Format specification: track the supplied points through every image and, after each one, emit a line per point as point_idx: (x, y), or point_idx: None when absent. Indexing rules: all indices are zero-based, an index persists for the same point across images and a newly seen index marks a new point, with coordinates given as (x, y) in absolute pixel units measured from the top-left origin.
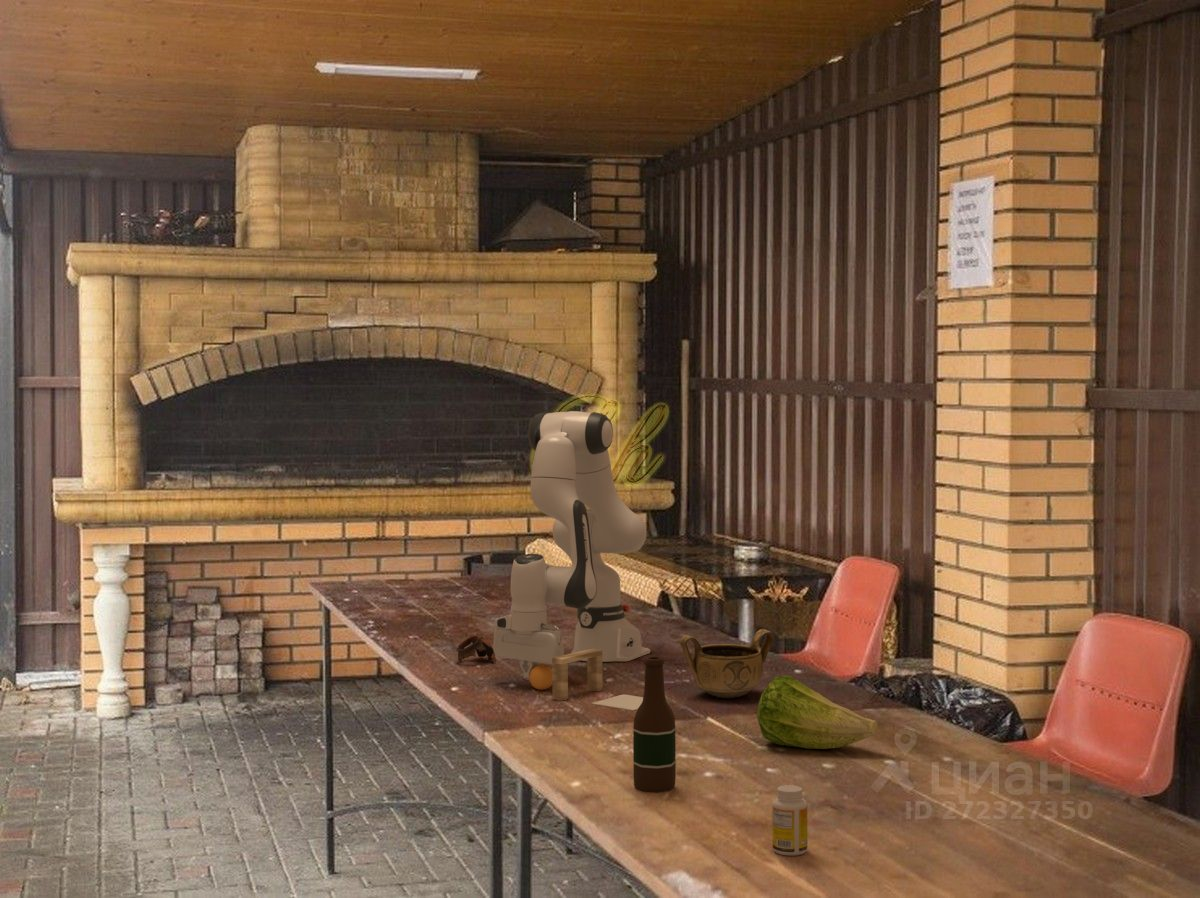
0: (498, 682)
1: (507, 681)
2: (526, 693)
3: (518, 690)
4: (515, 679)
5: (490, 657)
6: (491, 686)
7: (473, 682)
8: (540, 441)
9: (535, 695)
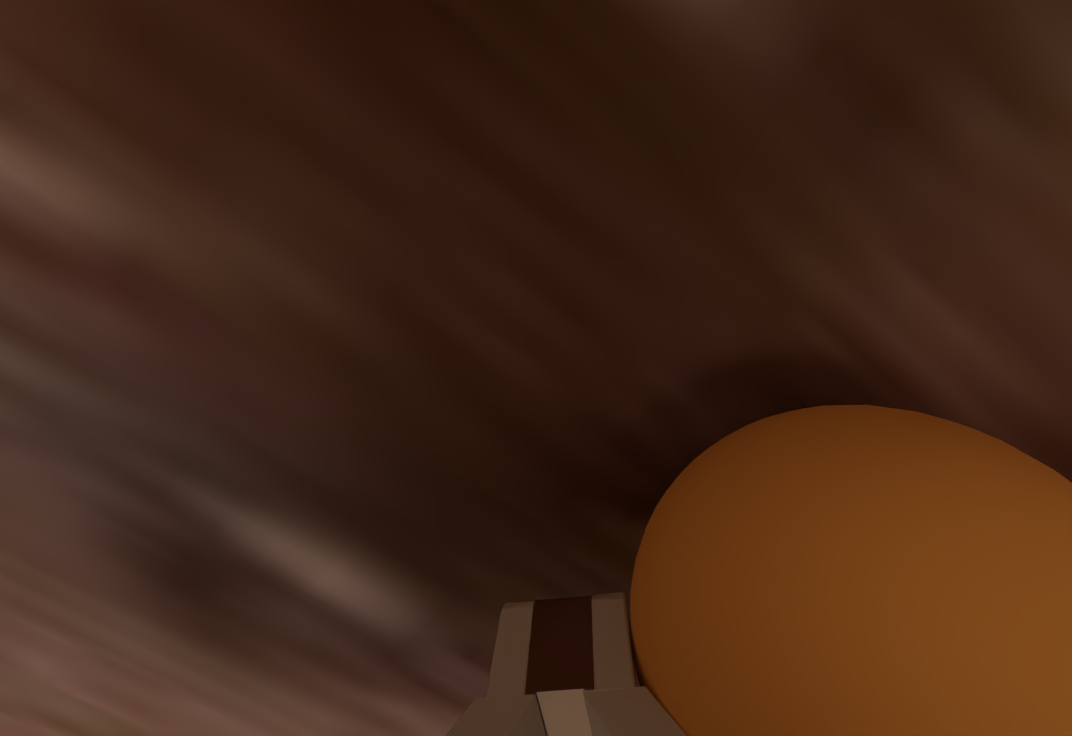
0: (117, 582)
1: (104, 492)
2: None
3: None
4: (17, 355)
5: None
6: (276, 716)
7: (22, 714)
8: None
9: None
